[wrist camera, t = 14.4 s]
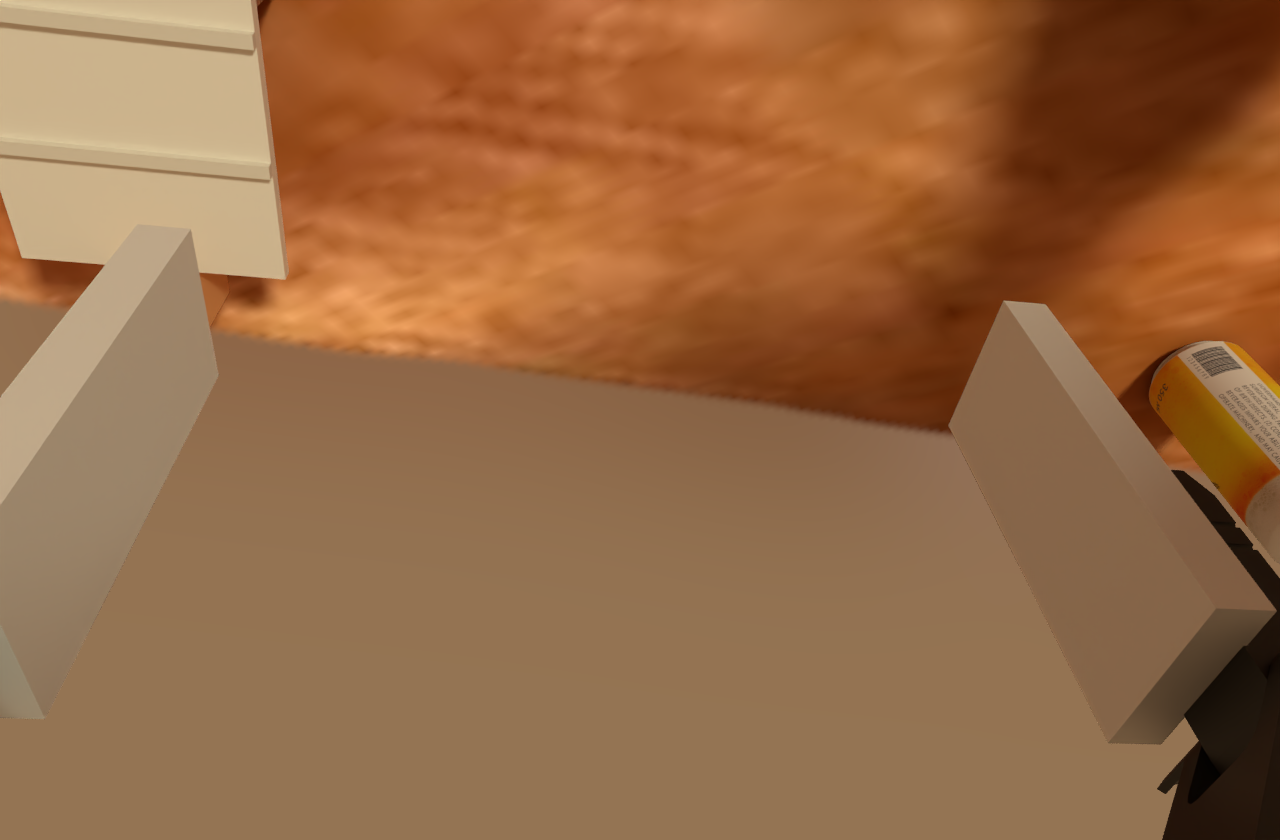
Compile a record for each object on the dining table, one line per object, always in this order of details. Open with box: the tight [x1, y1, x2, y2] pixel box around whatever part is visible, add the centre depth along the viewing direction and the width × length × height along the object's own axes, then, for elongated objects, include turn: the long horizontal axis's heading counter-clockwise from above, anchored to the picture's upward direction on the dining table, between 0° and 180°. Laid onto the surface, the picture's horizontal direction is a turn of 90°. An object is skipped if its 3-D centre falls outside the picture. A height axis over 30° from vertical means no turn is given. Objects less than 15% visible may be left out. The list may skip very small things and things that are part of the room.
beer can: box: [1149, 341, 1280, 564], centre depth 53 cm, size 6×6×15 cm
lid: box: [0, 0, 289, 327], centre depth 39 cm, size 20×12×8 cm, turn 172°
